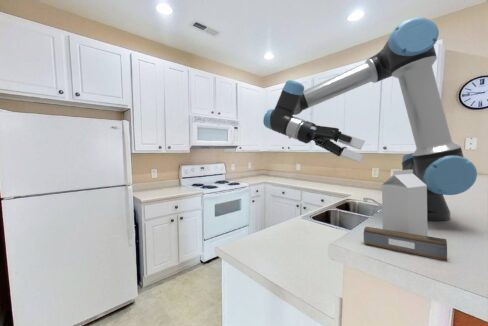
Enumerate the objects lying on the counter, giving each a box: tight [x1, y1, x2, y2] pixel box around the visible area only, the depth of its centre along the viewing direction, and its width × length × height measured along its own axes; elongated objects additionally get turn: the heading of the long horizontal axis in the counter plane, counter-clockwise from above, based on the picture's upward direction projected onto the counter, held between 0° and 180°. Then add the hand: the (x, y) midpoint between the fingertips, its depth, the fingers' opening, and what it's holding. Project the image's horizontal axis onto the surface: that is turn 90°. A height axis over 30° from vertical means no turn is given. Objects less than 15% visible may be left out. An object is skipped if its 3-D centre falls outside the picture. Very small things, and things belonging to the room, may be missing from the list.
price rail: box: [363, 226, 448, 262], centre depth 53 cm, size 3×16×4 cm, turn 50°
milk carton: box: [381, 169, 428, 236], centre depth 59 cm, size 7×7×19 cm
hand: (362, 152), depth 68 cm, fingers open, 13 cm apart
